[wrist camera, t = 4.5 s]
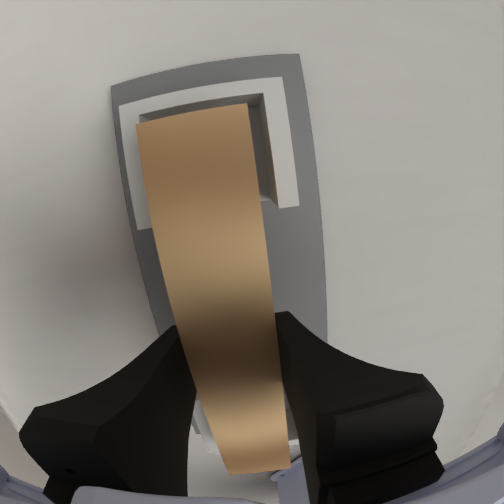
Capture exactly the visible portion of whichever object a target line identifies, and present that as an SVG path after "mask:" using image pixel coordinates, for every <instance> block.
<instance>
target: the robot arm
mask: <svg viewBox="0 0 504 504" xmlns="http://www.w3.org/2000/svg"><path fill="white" fill-rule="evenodd" d="M275 322H276V330H277V339H278V348H279V357H280V366H281V375H282V383H283V386H284V389H285V392H286V396H287V399H288V402H289V405H290V408H291V412H292V415H293V418H294V421H295V425H296V429H297V434H298V440H299V445H300V450H301V457H300V458H298V459H297V460H295V461H294V462H292V463H291V468H289V469H282V470H280V471H278V472H276V473H275V474H273V475H272V476H270V480H271V481H274V482H277V486H278V494H279V502H280V504H504V423H503V424H502V426H501V427H500V429H499V431H498V433H497V435H496V436H495V437H493V438H492V439H490V440H488V441H487V442H485V443H483V444H482V445H480V446H478V447H477V448H475V449H473V450H471V451H470V452H468V453H466V454H464V455H462V456H461V457H459V458H457V459H455V460H453V461H451V462H449V463H447V464H445V465H442V463H441V462H440V460H439V458H438V456H437V455H436V453H435V451H436V450H437V444H436V442H435V441H434V439H433V434H434V432H435V430H436V428H437V425H438V423H439V420H440V418H441V415H442V412H443V408H444V404H443V399H442V398H441V396H440V395H439V394H438V392H437V391H436V389H435V388H434V387H433V385H432V384H431V383H430V382H429V381H428V380H427V378H426V377H425V376H424V375H423V374H417V373H410V372H403V371H396V370H392V369H388V368H384V367H380V366H376V365H373V364H370V363H367V362H364V361H362V360H359V359H356V358H354V357H352V356H349V355H347V354H345V353H343V352H341V351H339V350H337V349H336V348H334V347H332V346H330V345H329V344H327V343H326V342H324V341H323V340H321V339H320V338H319V337H317V336H316V335H315V334H313V333H312V332H311V331H310V330H309V329H307V328H306V327H305V326H304V325H303V324H302V323H301V322H300V321H299V320H297V319H296V318H295V317H294V316H293V314H292V313H290V312H289V311H283V312H276V313H275ZM196 395H197V389H196V387H195V384H194V381H193V378H192V375H191V372H190V368H189V365H188V362H187V359H186V356H185V353H184V349H183V346H182V343H181V339H180V336H179V333H178V329H177V326H176V325H172V326H171V327H170V328H168V329H167V330H166V331H165V332H164V333H163V334H162V335H161V336H160V337H159V338H158V339H157V340H155V341H154V342H153V343H152V344H151V345H150V346H149V347H148V348H147V349H146V350H145V351H144V352H142V353H141V354H140V355H139V356H138V357H136V358H135V359H134V360H133V361H132V362H130V363H129V364H128V365H127V366H125V367H124V368H122V369H121V370H120V371H118V372H117V373H115V374H114V375H112V376H111V377H109V378H107V379H106V380H104V381H102V382H100V383H98V384H97V385H95V386H93V387H91V388H89V389H87V390H85V391H83V392H80V393H78V394H76V395H73V396H71V397H68V398H66V399H63V400H60V401H56V402H53V403H49V404H46V405H42V406H38V407H35V408H34V409H33V411H32V412H31V414H30V415H29V417H28V419H27V420H26V422H25V423H24V425H23V427H22V428H21V430H20V432H19V438H20V441H21V442H22V445H23V447H24V448H25V449H26V451H27V452H28V454H29V455H30V456H31V457H32V458H33V459H34V460H35V461H36V463H37V464H38V465H39V466H40V467H41V468H42V469H43V470H44V471H45V472H46V473H47V474H48V475H49V476H50V477H49V479H48V481H47V484H46V486H45V488H44V489H42V488H40V487H37V486H34V485H32V484H29V483H27V482H24V481H22V480H20V479H17V478H15V477H13V476H10V475H9V474H8V473H7V472H6V470H5V469H4V468H3V467H2V466H1V465H0V504H264V503H259V502H255V501H250V500H246V499H241V498H221V497H188V494H187V459H188V439H189V432H190V426H191V421H192V416H193V410H194V405H195V400H196Z"/></svg>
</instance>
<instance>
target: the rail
mask: <svg viewBox="0 0 504 504" xmlns="http://www.w3.org/2000/svg"><path fill="white" fill-rule="evenodd" d="M135 125H136V132H137V140H138V147H139V154H140V161H141V167H142V174H143V180H144V186H145V191H146V197H147V202H148V208H149V213H150V218H151V223H152V228H153V233H154V237H155V242H156V247H157V251H158V255H159V260H160V264H161V268H162V273H163V277H164V281H165V285H166V289H167V293H168V296H169V300H170V304H171V308H172V311H173V315H174V319H175V322H176V326H177V329H178V333H179V336H180V339H181V343H182V346H183V349H184V353H185V356H186V359H187V362H188V365H189V368H190V372H191V375H192V378H193V381H194V384H195V387H196V389H197V392H198V395H199V398H200V401H201V404H202V407H203V409H204V412H205V415H206V418H207V420H208V423H209V426H210V428H211V431H212V434H213V436H214V439H215V441H216V444H217V446H218V449H219V451H220V454H221V456H222V459H223V461H224V463H225V466H226V468H227V470H228V473H229V475H233V474H246V473H257V472H266V471H275V470H282V469H289V468H291V462H290V452H289V442H288V432H287V422H286V412H285V403H284V393H283V384H282V375H281V366H280V357H279V348H278V339H277V330H276V322H275V313H274V305H273V296H272V288H271V280H270V271H269V263H268V255H267V247H266V239H265V232H264V224H263V216H262V208H261V201H260V193H259V186H258V178H257V171H256V163H255V156H254V149H253V142H252V135H251V127H250V120H249V113H248V106H247V103H244V104H237V105H229V106H223V107H216V108H210V109H204V110H198V111H193V112H188V113H183V114H178V115H173V116H168V117H164V118H159V119H155V120H151V121H147V122H143V123H139V124H135Z"/></svg>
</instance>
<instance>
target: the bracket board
mask: <svg viewBox="0 0 504 504" xmlns="http://www.w3.org/2000/svg"><path fill="white" fill-rule="evenodd" d="M111 91H112V104H113V115H114V124H115V133H116V141H117V149H118V156H119V163H120V170H121V176H122V182H123V188H124V194H125V199H126V204H127V210H128V215H129V220H130V225H131V229H132V234H133V238H134V243H135V247H136V252H137V256H138V260H139V264H140V268H141V272H142V276H143V280H144V284H145V287H146V291H147V295H148V298H149V302H150V305H151V309H152V312H153V315H154V319H155V322H156V325H157V329H158V332H159V335H160V336H161V335H162V334H163V333H164V332H165V331H166V330H167V329H168V328H170V327H171V326H172V325H176V322H175V319H174V315H173V311H172V308H171V304H170V300H169V296H168V293H167V289H166V285H165V281H164V277H163V273H162V268H161V264H160V260H159V255H158V251H157V247H156V242H155V237H154V233H153V228H152V223H151V218H150V213H149V208H148V202H147V197H146V191H145V186H144V180H143V174H142V167H141V161H140V154H139V147H138V140H137V132H136V125H135V124H139V123H143V122H147V121H151V120H155V119H159V118H164V117H168V116H173V115H178V114H183V113H188V112H193V111H198V110H204V109H210V108H216V107H223V106H229V105H237V104H244V103H247V106H248V113H249V120H250V127H251V135H252V142H253V149H254V156H255V163H256V171H257V178H258V186H259V193H260V201H261V208H262V216H263V224H264V232H265V239H266V247H267V255H268V263H269V271H270V280H271V288H272V296H273V305H274V313H276V312H283V311H289V312H290V313H292V314H293V316H294V317H295V318H296V319H297V320H299V321H300V322H301V323H302V324H303V325H304V326H305V327H306V328H307V329H309V330H310V331H311V332H312V333H313V334H315V335H316V336H317V337H319V338H320V339H321V340H323V341H324V342H326V343H327V301H326V278H325V260H324V244H323V231H322V218H321V207H320V196H319V186H318V177H317V168H316V159H315V151H314V143H313V136H312V128H311V121H310V115H309V108H308V102H307V95H306V89H305V83H304V77H303V72H302V66H301V61H300V56H299V54H280V55H265V56H254V57H244V58H236V59H228V60H221V61H214V62H208V63H202V64H197V65H191V66H186V67H181V68H177V69H172V70H168V71H163V72H159V73H155V74H151V75H147V76H143V77H140V78H136V79H133V80H129V81H126V82H123V83H119V84H116V85H113V86H111ZM282 384H283V383H282ZM283 393H284V403H285V412H286V422H287V432H288V442H289V446H292V445H298V444H299V440H298V434H297V429H296V425H295V421H294V418H293V415H292V412H291V408H290V405H289V402H288V399H287V396H286V392H285V389H284V386H283ZM191 422H192V425H193V427H194V429H195V432H196V434H201V435H202V438H203V440H204V442H205V445H206V447H207V449H208V452H209V454H213V453H220V451H219V449H218V446H217V444H216V441H215V439H214V436H213V434H212V431H211V428H210V426H209V423H208V420H207V418H206V415H205V412H204V409H203V407H202V404H201V401H200V398H199V395H198V392H197V395H196V400H195V405H194V410H193V416H192V421H191Z"/></svg>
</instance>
